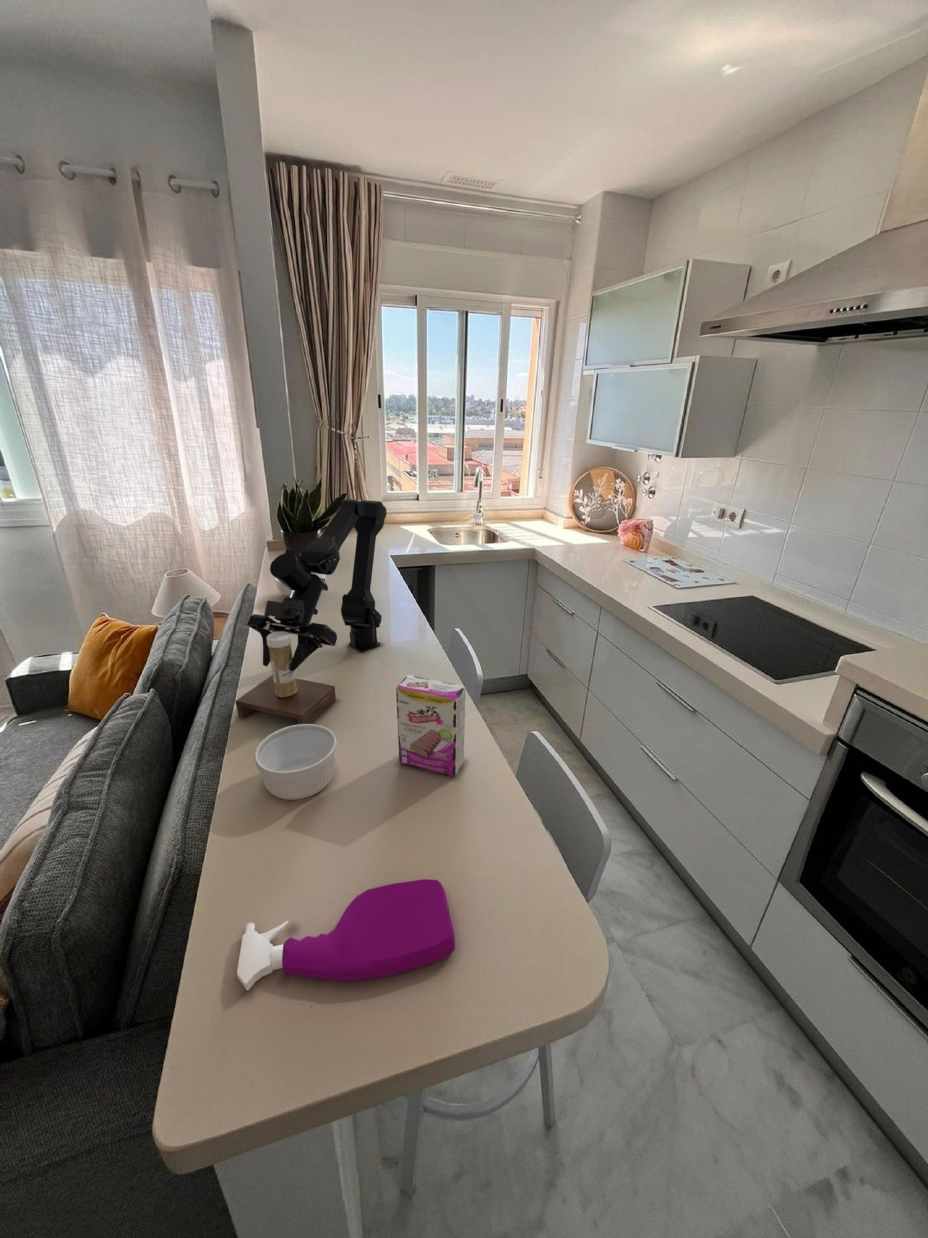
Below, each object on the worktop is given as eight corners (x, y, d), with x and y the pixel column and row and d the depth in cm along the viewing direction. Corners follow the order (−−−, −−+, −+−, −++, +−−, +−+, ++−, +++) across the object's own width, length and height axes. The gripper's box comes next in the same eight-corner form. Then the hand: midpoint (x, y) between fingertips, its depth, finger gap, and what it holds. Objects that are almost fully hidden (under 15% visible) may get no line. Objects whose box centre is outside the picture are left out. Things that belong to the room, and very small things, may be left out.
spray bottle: (458, 965, 57) (232, 1020, 52) (441, 884, 67) (249, 923, 62) (458, 948, 56) (227, 1002, 51) (440, 868, 66) (245, 907, 61)
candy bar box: (398, 765, 90) (393, 687, 83) (409, 749, 94) (406, 673, 88) (455, 779, 86) (456, 699, 80) (465, 762, 91) (466, 684, 84)
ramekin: (296, 818, 78) (291, 783, 75) (243, 787, 84) (236, 753, 82) (355, 771, 88) (352, 738, 86) (304, 746, 95) (300, 715, 92)
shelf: (275, 689, 114) (273, 674, 112) (336, 701, 109) (334, 685, 108) (238, 717, 103) (235, 700, 102) (303, 732, 99) (301, 715, 97)
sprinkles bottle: (292, 698, 103) (284, 640, 98) (271, 697, 103) (262, 639, 98) (301, 687, 107) (293, 630, 102) (280, 686, 107) (272, 629, 102)
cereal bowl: (319, 603, 165) (317, 583, 162) (269, 602, 165) (266, 582, 162) (332, 587, 181) (330, 568, 178) (287, 586, 181) (284, 567, 178)
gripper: (245, 577, 102) (214, 648, 96) (323, 587, 97) (296, 662, 91) (275, 600, 112) (249, 665, 106) (348, 611, 107) (324, 680, 101)
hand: (277, 668), depth 101 cm, fingers open, 6 cm apart
